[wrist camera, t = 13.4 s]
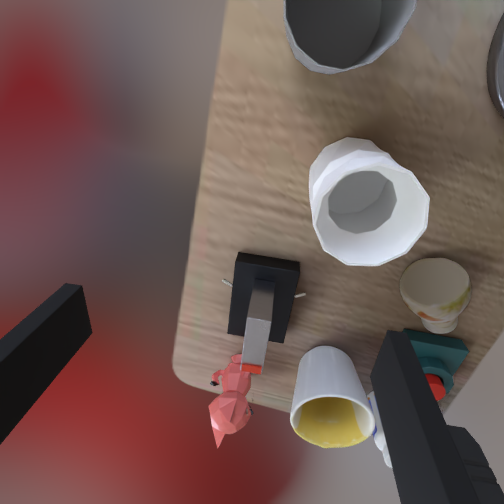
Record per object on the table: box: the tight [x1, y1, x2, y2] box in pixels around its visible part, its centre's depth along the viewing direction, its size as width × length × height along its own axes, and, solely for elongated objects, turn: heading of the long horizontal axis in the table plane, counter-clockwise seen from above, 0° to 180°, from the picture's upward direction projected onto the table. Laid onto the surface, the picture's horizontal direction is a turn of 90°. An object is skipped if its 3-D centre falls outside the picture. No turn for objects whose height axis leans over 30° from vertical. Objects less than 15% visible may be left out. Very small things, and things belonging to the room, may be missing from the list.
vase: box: [309, 137, 430, 266], centre depth 30 cm, size 9×9×12 cm
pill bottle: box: [367, 391, 393, 469], centre depth 46 cm, size 5×5×10 cm
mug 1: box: [290, 346, 375, 448], centre depth 44 cm, size 14×10×10 cm
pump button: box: [425, 373, 446, 401], centre depth 42 cm, size 4×4×2 cm
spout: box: [240, 279, 275, 374], centre depth 38 cm, size 8×3×8 cm, turn 174°
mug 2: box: [399, 258, 472, 334], centre depth 38 cm, size 8×10×10 cm
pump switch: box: [403, 329, 469, 395], centre depth 44 cm, size 11×8×4 cm
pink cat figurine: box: [209, 354, 254, 448], centre depth 45 cm, size 7×7×12 cm
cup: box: [284, 0, 417, 75], centre depth 24 cm, size 8×8×10 cm
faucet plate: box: [222, 252, 306, 343], centre depth 43 cm, size 12×11×3 cm
